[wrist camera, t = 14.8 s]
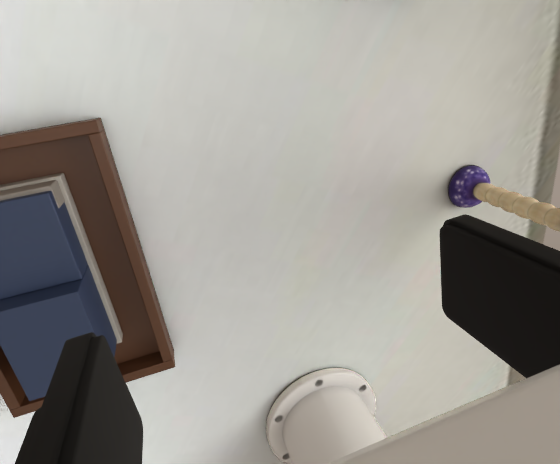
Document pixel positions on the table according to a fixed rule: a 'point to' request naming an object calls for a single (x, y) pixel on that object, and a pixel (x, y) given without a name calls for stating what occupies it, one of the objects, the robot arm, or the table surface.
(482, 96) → the table surface
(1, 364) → the tray
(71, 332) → the blue stair step block
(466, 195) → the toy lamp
